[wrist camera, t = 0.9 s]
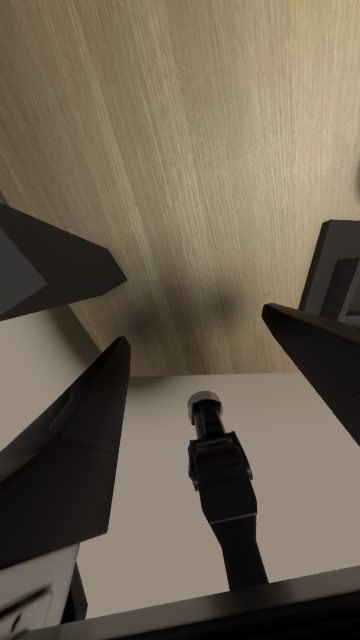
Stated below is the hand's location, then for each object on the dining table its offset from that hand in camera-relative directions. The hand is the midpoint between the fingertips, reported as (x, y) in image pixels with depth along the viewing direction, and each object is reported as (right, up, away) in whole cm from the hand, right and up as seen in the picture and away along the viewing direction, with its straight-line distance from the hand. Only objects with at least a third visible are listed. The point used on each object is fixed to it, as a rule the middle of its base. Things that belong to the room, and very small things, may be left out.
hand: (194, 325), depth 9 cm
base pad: (+24, +4, +13) cm, 28 cm away
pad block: (-11, +7, +10) cm, 17 cm away
